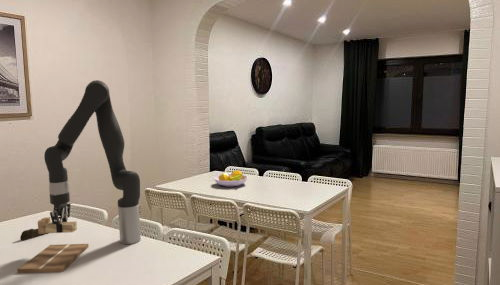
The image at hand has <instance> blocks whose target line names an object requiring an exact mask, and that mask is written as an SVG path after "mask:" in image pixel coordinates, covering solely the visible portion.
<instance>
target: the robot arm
mask: <svg viewBox="0 0 500 285" xmlns="http://www.w3.org/2000/svg"><path fill="white" fill-rule="evenodd" d="M110 94H111V93H110V89H109V87H108V84H106V83H105V82H103V81H102V80H92V81H90V82H89V83H87V85H86V86H85V89H84V94H83V96H82V98H81V100H80V102H79V105H78V106H77V107H76V110H75V111H74V112H73V114H72V115H71V116H70V118H68V120H67V121H66V123H65V124H64V125H63V127H62V129H61V130H60V132H59V133H58V136H57V139H58V140H57V142H56V144H55V145H53V146H49V147H48V148H46V149H45V151H44V162H45V166H46V169H47V171H48V181H49V184H48V186H49V187H48V190H49V191H48V192H49V203H50V204H51V205H53V211H50V212H49V217H50V221H51V222H52V223H53V224H56V230H57V233H56V234H60V233H61V232H62V231H63V230H62V222H68V221H69V218H70V217H71V215H70V214H71V207H72V206H71V205H72V204H71V203H69V202H70V201H71V197H70V195H71V194H70V184H69V179H68V178H69V177H68V169H67V168H66V167H64V164H63V161H65V160H66V159H67V158H68V157H69V155H70V153H71V152H72V150H73V147H74V145H75V143H76V141H78V138H79V137H80V136H81V134H82V132H83V131H84V129H85V127H86V125H87V124H88V122H89V120H90V119H91V117H92V116H93V114H95V116H96V123H97V130H98V135H99V139H100V141H101V145H102V147H103V150H104V154H105V156H106V160H107V163H108V167H109V170H110V175H111V181H112V184H113V186H114V187H115V188H116V189H117V190H118V191H119V190H120V191H122V197H120V198H119V199H117V213H118V228H119V229H118V231H119V242H120V244H122V245H132V244H136V243H138V242H140V241H141V237H142V236H141V222H140V202H139V201H140V198H141V179H140V176H139V174H138V173H137V172H136V171H132V170H127V168H126V166H125V163H124V157H123V156H124V151H125V139H124V136H123V132H122V129H121V126H120V124H119V121H118V118H117V117H116V115H115V113H114V109H113V105H112V101H111V96H110ZM61 234H62V233H61Z"/></svg>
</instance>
